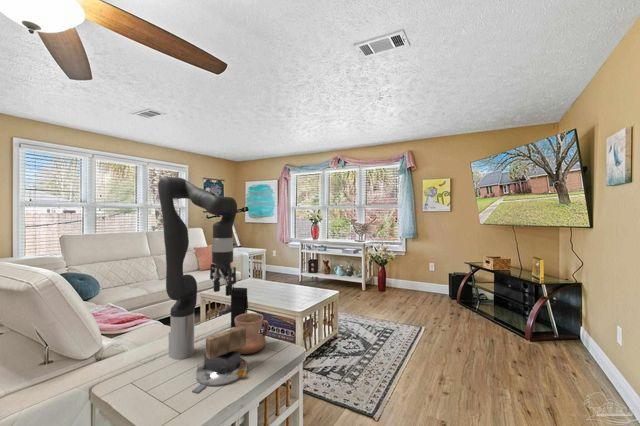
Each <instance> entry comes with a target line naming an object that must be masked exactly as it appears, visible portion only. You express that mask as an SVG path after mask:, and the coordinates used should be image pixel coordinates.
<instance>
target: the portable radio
mask: <svg viewBox="0 0 640 426" xmlns="http://www.w3.org/2000/svg"><path fill="white" fill-rule="evenodd" d="M234 285H235V284H233V285H232V295H230V329H231V328H232V327H236V326H235V317H237V316H239V315H241V314H246V313H248V309H249V301H248V288H247V287H236V286H235V287H234Z"/></svg>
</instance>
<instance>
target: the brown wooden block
mask: <svg viewBox="0 0 640 426" xmlns="http://www.w3.org/2000/svg"><path fill="white" fill-rule="evenodd" d="M230 329H231V328H230ZM230 329H228V330H225V331H222V332H221V331H220V332H219V333H216V334H211V335H209V336H207V337H205V353H206V357H207V358H208V359H213V358H215V357H218V356H221V355H223V354H226V353H228V352H231V351H234V350H236V349H239V348H241V347H244V346H246V328H245V327H243V326H240V327H237V328H234V329H231V330H230Z"/></svg>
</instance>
